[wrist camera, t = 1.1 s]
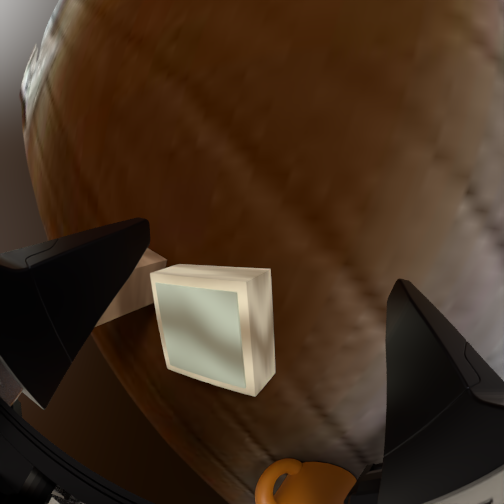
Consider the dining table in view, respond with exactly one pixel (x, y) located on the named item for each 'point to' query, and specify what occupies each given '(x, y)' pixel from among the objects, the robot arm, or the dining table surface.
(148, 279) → the tan wooden block
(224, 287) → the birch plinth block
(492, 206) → the dining table surface
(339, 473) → the mug
